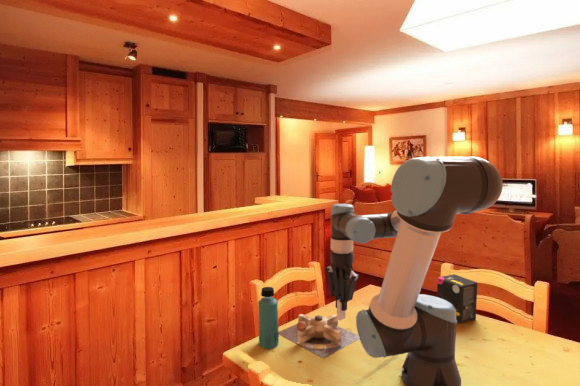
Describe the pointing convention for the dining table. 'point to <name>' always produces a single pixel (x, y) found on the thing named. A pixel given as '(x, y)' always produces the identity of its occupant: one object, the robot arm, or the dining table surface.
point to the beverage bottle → (268, 319)
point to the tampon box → (459, 295)
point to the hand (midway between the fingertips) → (341, 318)
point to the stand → (320, 341)
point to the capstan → (318, 328)
